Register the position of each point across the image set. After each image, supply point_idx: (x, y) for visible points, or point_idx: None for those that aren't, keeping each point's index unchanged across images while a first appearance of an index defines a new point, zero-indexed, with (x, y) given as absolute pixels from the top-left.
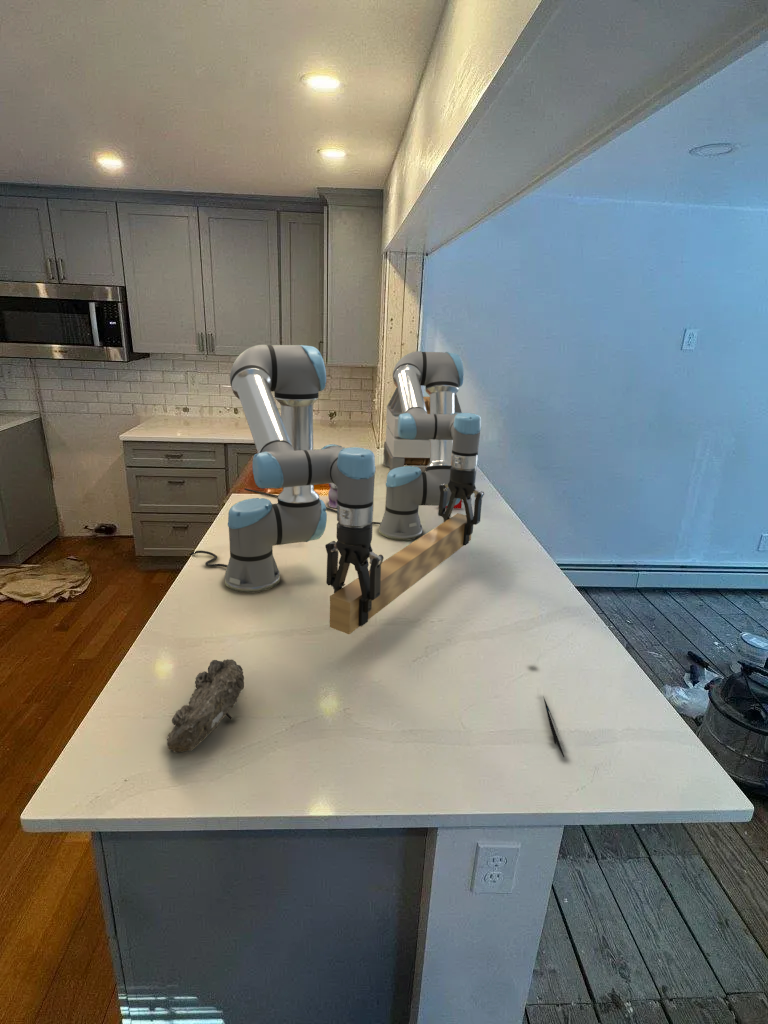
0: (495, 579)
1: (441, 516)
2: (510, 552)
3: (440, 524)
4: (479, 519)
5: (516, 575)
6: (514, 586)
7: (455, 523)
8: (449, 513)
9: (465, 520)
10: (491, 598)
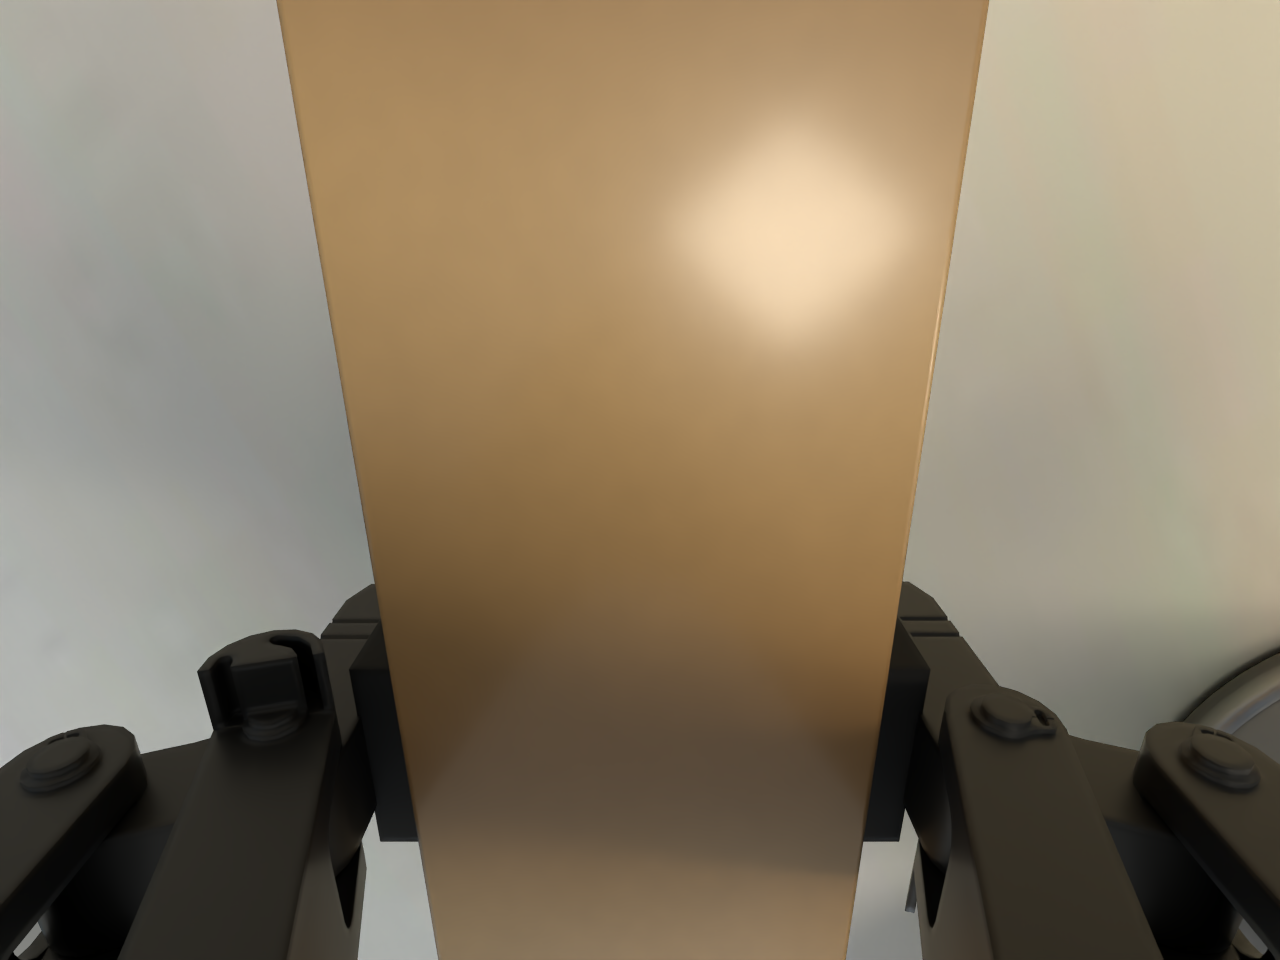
0: (243, 430)
1: (1123, 748)
2: (421, 901)
3: (966, 74)
4: (20, 957)
5: (165, 599)
6: (47, 402)
7: (565, 502)
8: (955, 882)
9: (468, 835)
10: (22, 9)
